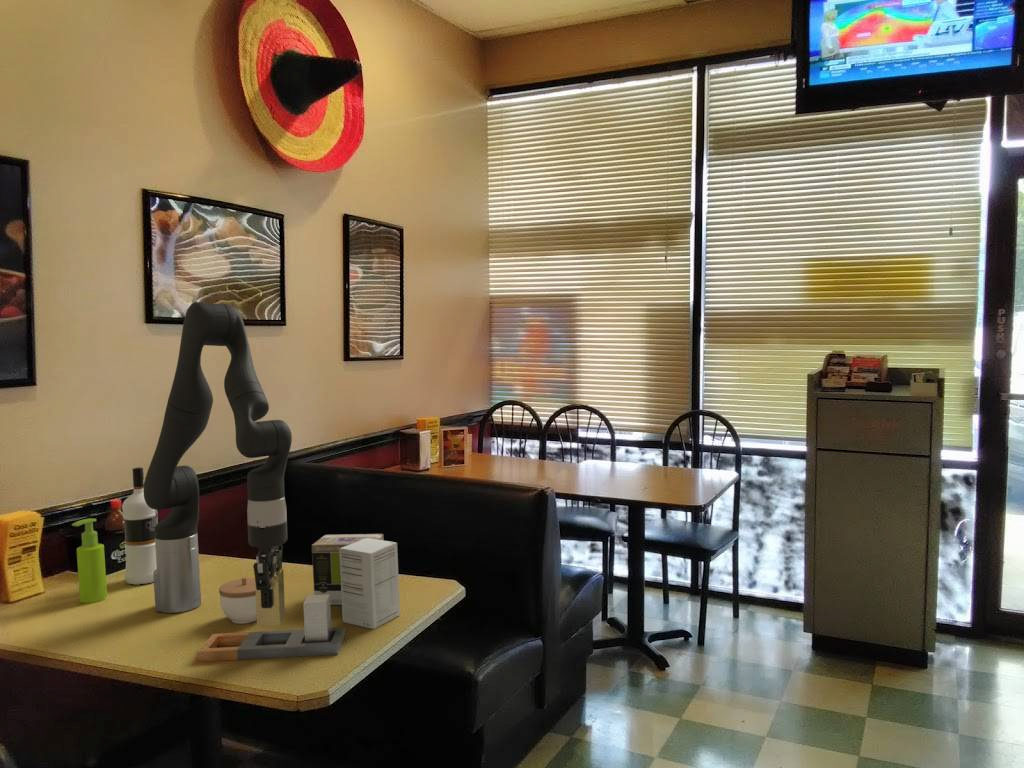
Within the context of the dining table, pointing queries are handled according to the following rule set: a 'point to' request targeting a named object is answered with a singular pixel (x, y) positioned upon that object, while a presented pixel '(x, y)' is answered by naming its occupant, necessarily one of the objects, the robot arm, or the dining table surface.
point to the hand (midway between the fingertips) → (270, 602)
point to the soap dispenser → (91, 565)
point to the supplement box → (369, 582)
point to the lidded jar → (239, 600)
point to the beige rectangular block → (278, 609)
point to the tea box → (332, 563)
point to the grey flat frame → (255, 650)
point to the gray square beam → (317, 619)
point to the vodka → (139, 534)
